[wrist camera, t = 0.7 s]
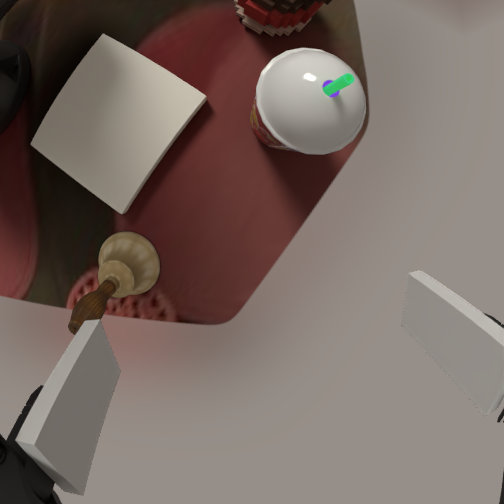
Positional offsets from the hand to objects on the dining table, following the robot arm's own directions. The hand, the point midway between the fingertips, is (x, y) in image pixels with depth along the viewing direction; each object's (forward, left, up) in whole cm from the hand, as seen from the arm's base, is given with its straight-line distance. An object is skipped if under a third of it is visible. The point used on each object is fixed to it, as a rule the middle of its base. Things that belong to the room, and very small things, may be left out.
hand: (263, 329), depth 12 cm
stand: (-19, +1, -25) cm, 31 cm away
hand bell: (-7, -13, -25) cm, 29 cm away
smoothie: (-3, +12, -25) cm, 28 cm away
